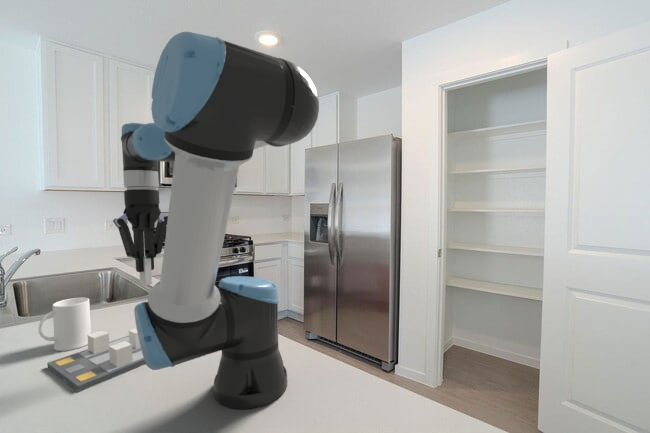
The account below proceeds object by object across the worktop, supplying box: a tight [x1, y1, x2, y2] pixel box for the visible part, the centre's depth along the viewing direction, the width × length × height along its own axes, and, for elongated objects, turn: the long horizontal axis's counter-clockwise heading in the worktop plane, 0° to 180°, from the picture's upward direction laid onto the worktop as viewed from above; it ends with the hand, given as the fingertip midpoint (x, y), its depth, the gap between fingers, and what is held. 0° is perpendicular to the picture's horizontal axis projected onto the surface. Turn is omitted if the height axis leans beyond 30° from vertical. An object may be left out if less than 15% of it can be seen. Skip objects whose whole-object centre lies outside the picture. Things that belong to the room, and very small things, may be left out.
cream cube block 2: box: [128, 327, 141, 348], centre depth 88 cm, size 4×4×4 cm
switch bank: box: [46, 335, 146, 392], centre depth 83 cm, size 18×22×1 cm
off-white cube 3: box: [87, 330, 110, 354], centre depth 85 cm, size 4×4×4 cm
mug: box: [38, 297, 92, 352], centre depth 90 cm, size 12×8×12 cm
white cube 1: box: [109, 341, 133, 367], centre depth 78 cm, size 4×4×4 cm
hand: (145, 284), depth 82 cm, fingers closed
